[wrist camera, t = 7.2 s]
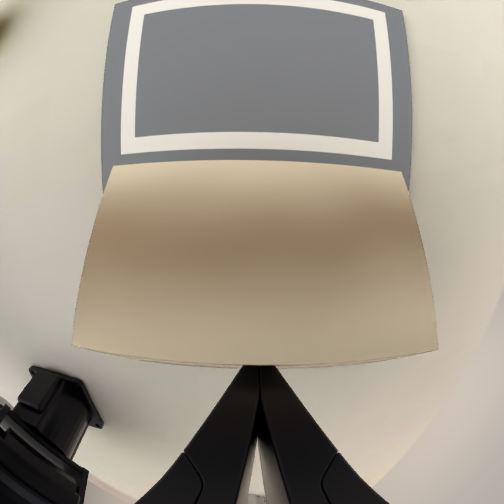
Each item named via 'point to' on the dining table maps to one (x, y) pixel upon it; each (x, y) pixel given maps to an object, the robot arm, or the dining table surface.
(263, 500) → the egg carton
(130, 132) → the mat
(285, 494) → the robot arm
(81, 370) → the dining table surface
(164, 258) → the block
